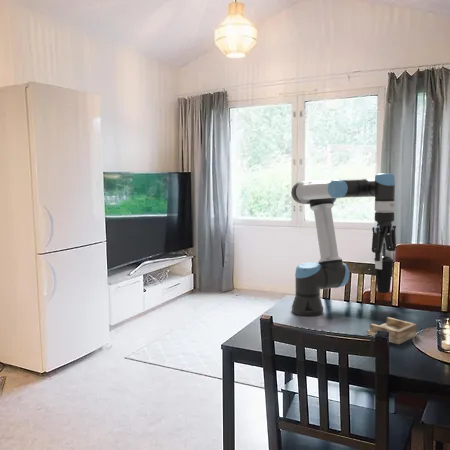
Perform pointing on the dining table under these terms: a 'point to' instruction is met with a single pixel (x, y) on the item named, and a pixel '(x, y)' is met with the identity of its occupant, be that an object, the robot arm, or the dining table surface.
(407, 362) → the dining table surface
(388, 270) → the drinking cup
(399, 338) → the tray
